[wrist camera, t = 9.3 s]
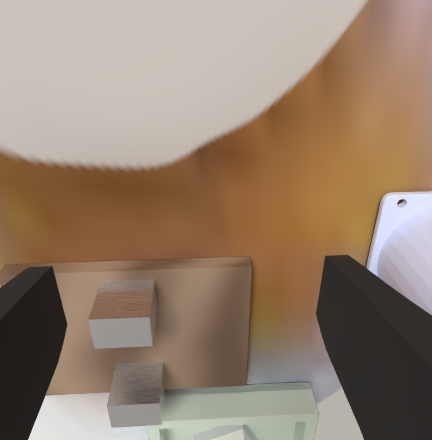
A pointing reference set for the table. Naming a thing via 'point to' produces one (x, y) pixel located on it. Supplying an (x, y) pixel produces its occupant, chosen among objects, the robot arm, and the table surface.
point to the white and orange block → (226, 433)
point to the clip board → (178, 327)
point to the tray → (240, 411)
